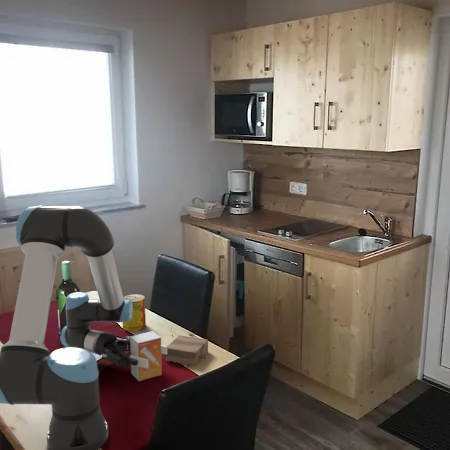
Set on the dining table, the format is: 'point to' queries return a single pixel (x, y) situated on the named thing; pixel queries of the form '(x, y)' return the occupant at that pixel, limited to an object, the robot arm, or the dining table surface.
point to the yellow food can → (136, 313)
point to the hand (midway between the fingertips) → (157, 356)
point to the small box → (146, 355)
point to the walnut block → (187, 350)
